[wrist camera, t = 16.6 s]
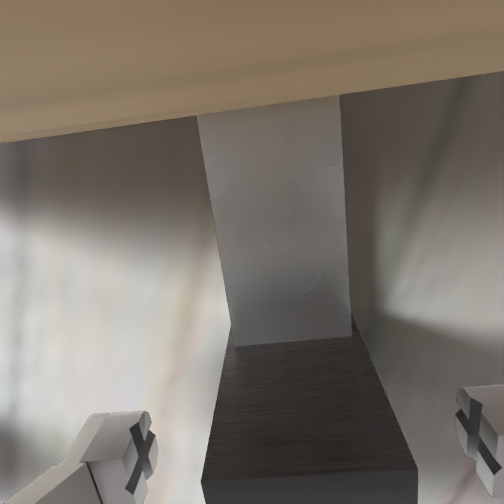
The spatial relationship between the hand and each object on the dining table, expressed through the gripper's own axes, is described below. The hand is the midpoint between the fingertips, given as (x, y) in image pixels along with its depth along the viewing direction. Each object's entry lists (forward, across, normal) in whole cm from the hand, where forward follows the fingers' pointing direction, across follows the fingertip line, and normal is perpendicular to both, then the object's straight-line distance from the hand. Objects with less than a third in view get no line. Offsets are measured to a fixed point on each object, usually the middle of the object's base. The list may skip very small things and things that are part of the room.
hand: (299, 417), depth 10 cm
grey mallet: (+4, 0, -6) cm, 7 cm away
